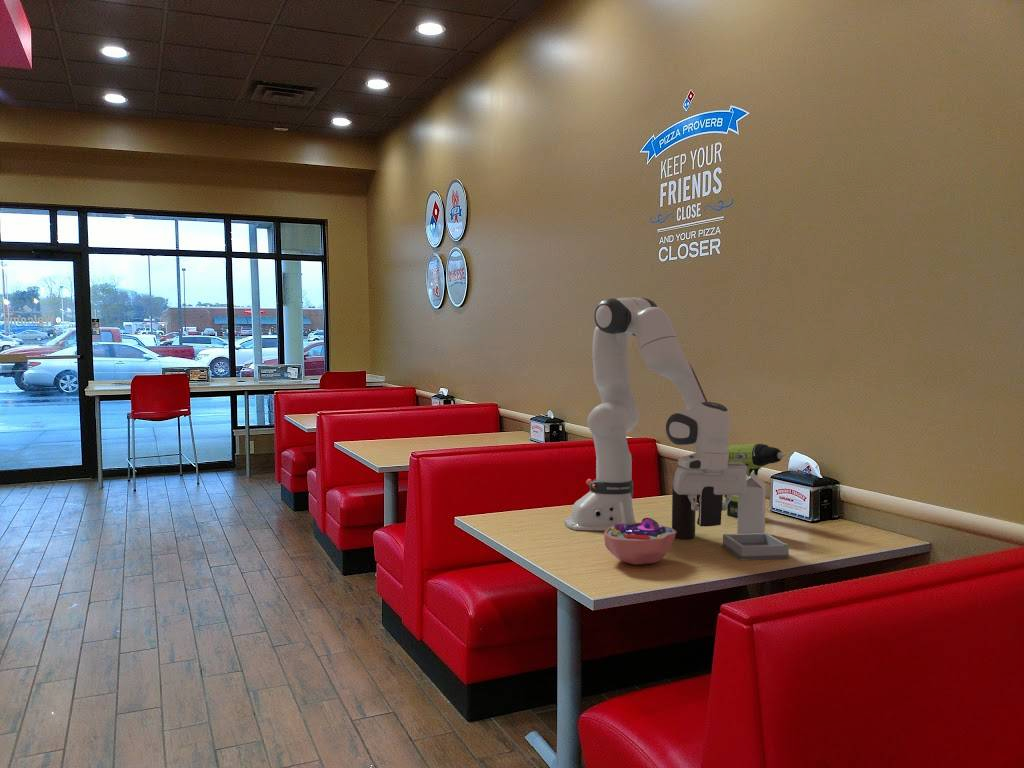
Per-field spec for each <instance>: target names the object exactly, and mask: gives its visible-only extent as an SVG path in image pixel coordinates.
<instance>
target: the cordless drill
mask: <svg viewBox="0 0 1024 768" xmlns="http://www.w3.org/2000/svg"><path fill="white" fill-rule="evenodd" d="M728 450H729V452H728V453H729V454H728V461H733V462H738V461H740V462H743V463H744V464H746V466H747V476H748V477H749V476H751V473H752V471H753V470H754V474H755V475H756V476H757V477H758V473H759V471H760V470H761V468H763V467H765V466H767V465H769V464H775V463H778V462H780V461H781V460H782V459H783V458H784V457H786V456H787V455H786V454H783V453H782V451H781V449H779V448H776V447H774V446H768V444H764V443H746V444H731V445H729V446H728ZM726 512H727V513H726V515H728V516H727V517H730V516H731V517H732V518H734V517H735V519H737V518H738V495H732V499H731V501H730V502H729V504H728V505H727V511H726Z"/></svg>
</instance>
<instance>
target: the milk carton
mask: <svg viewBox="0 0 1024 768" xmlns="http://www.w3.org/2000/svg"><path fill="white" fill-rule="evenodd" d="M746 480H747V492H746V493H745V494H744V495H738V519H737V531H736V532H737V533H736V534H750V533H766V499H767V498H766V495H767V493H766V491H767V489H766V488H767V483H765V482H764V481H763V480H762V479H761V478H760V477H759V476H758V475H757V476H756V475H755V474H754V470H753V471H752V473H751V476H749V477H748V476H747V475H746Z"/></svg>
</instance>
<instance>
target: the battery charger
mask: <svg viewBox="0 0 1024 768" xmlns="http://www.w3.org/2000/svg"><path fill="white" fill-rule="evenodd" d="M723 501H724V495H715V494H714V487H711V486H707V487H703V489H702V490H701V494H700V495H696V503H697V504H698V505H699V507H698V517H697V519H696V524H697V525H698V526H699V527H715V526H721V525H722V512H723V511H722V503H723Z"/></svg>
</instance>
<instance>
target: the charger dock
mask: <svg viewBox="0 0 1024 768" xmlns="http://www.w3.org/2000/svg"><path fill="white" fill-rule="evenodd" d="M789 546H790V545H789V543H785V542H783V541H781V540H780V539H778V538H776V537H774V536H773V535H771V534H769V533H768V532H765V533H750V534H737V533H726V534H722V548H724V549H725V550H727V551H728V552H730V553H731V554H733V555H734V556H736V557H737V558H739V559H740V560H741V561H747V560H748V561H749V560H750V561H751V560H752V561H754V560H755V561H756V560H781V559H789V550H790V549H789Z"/></svg>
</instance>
